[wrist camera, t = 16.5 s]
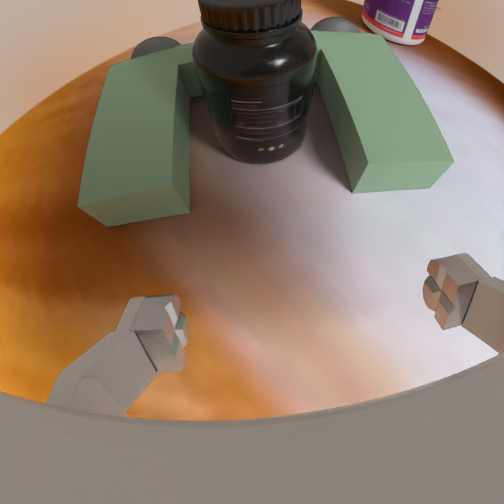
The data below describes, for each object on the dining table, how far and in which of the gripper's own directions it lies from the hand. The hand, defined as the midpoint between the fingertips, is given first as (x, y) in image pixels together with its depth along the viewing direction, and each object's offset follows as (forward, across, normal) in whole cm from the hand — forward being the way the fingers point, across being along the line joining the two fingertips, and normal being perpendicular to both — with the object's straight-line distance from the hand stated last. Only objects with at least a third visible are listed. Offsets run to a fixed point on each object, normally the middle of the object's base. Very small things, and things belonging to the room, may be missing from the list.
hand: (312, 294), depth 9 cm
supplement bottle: (+16, 0, -3) cm, 16 cm away
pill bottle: (+27, -18, -14) cm, 35 cm away
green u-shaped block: (+16, 0, -4) cm, 17 cm away
